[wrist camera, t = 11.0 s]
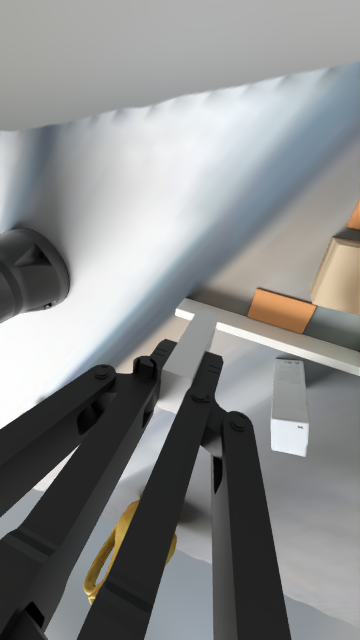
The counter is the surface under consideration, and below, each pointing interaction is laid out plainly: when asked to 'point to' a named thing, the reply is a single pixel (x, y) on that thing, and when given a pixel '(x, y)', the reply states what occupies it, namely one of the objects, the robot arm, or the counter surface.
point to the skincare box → (289, 408)
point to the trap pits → (288, 302)
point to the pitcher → (112, 541)
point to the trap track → (277, 337)
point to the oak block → (339, 277)
